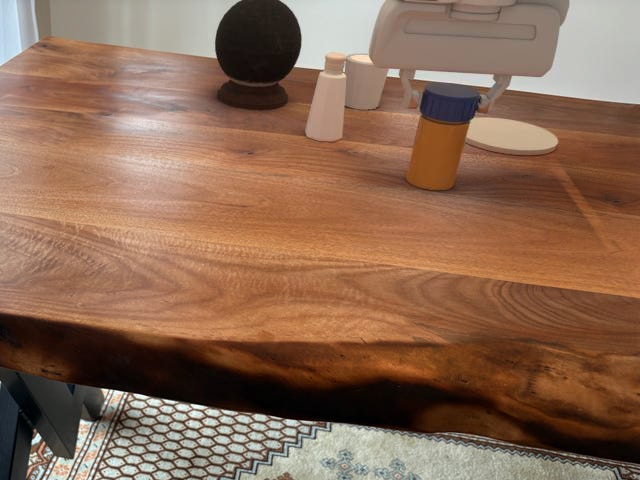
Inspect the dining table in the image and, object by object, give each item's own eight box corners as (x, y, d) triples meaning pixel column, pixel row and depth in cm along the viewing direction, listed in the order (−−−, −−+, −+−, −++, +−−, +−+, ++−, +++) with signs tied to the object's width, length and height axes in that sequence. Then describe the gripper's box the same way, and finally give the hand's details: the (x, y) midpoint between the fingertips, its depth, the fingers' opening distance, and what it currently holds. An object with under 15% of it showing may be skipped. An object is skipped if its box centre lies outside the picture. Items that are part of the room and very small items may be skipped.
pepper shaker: (349, 140, 108) (364, 58, 101) (315, 143, 106) (328, 60, 100) (330, 127, 112) (343, 48, 105) (297, 131, 110) (308, 50, 104)
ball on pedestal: (287, 88, 128) (299, -11, 119) (300, 113, 117) (314, 6, 108) (208, 85, 127) (215, -14, 119) (213, 110, 117) (221, 3, 108)
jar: (449, 175, 98) (472, 91, 92) (456, 192, 93) (480, 105, 87) (403, 170, 99) (422, 87, 93) (408, 188, 94) (428, 101, 88)
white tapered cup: (355, 112, 118) (363, 65, 114) (329, 99, 123) (336, 54, 119) (391, 108, 121) (400, 62, 117) (364, 96, 126) (372, 51, 122)
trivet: (543, 127, 116) (544, 121, 115) (568, 159, 104) (570, 154, 104) (447, 119, 117) (448, 113, 117) (462, 150, 106) (463, 144, 105)
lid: (417, 103, 94) (422, 80, 93) (470, 108, 93) (476, 85, 92) (421, 119, 89) (426, 94, 88) (477, 124, 88) (483, 100, 87)
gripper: (564, -18, 86) (526, 107, 94) (379, -28, 87) (357, 97, 95) (585, -8, 81) (543, 123, 88) (388, -18, 82) (364, 112, 89)
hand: (445, 109), depth 92 cm, fingers open, 7 cm apart
